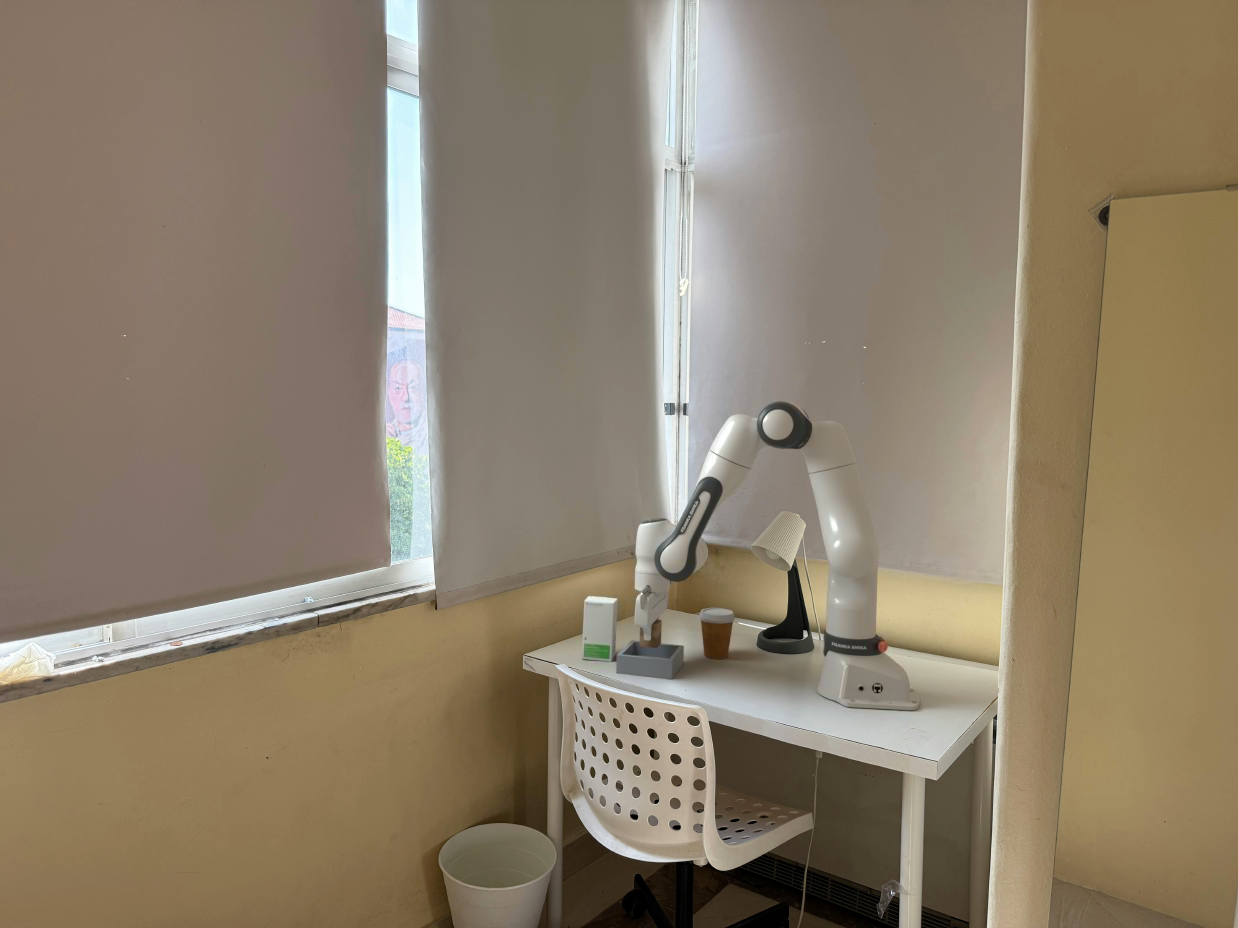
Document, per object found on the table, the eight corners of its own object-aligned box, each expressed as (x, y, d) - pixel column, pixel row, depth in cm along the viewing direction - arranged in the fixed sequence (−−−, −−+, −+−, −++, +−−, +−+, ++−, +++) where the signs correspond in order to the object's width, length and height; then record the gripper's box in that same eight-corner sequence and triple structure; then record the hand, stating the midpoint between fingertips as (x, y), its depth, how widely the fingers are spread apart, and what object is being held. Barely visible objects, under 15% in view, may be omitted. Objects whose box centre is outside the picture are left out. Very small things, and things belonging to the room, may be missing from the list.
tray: (683, 662, 197) (683, 645, 197) (671, 679, 183) (672, 660, 183) (631, 656, 201) (631, 640, 201) (616, 672, 187) (616, 654, 187)
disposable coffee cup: (718, 648, 210) (719, 605, 210) (741, 657, 202) (742, 613, 201) (690, 653, 205) (691, 609, 204) (713, 663, 197) (714, 617, 196)
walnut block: (661, 643, 193) (661, 619, 193) (656, 647, 189) (657, 624, 189) (644, 641, 195) (644, 618, 194) (639, 646, 190) (640, 622, 190)
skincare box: (581, 659, 198) (582, 600, 197) (586, 652, 204) (587, 595, 203) (612, 661, 196) (614, 602, 196) (617, 654, 203) (618, 596, 202)
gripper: (654, 591, 180) (652, 648, 181) (673, 576, 200) (671, 628, 201) (628, 589, 182) (627, 646, 183) (649, 574, 202) (648, 625, 202)
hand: (650, 636), depth 192 cm, fingers closed on walnut block, 4 cm apart
